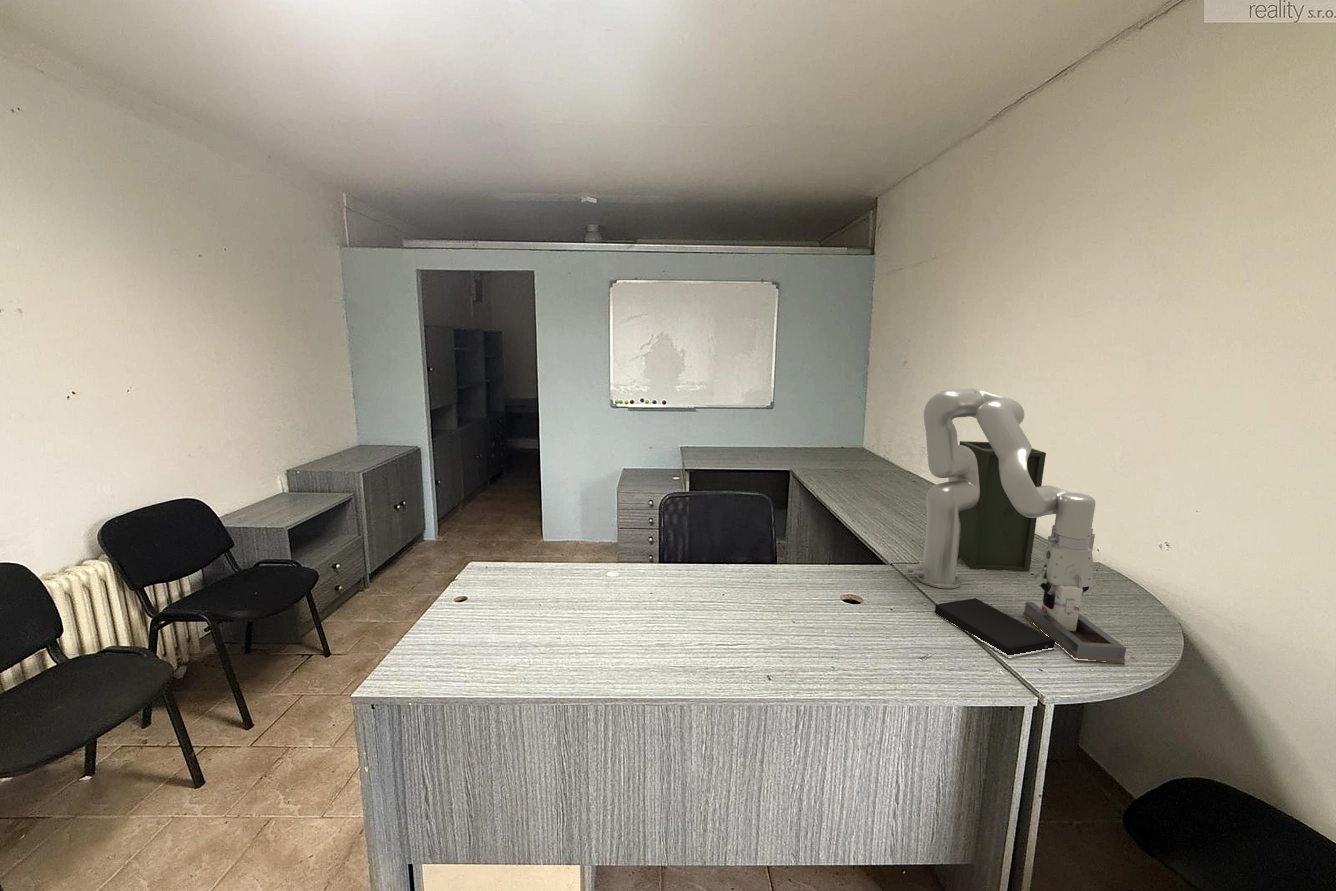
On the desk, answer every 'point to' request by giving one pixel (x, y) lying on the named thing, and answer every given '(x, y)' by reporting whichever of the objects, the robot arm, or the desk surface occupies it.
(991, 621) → the external hard drive
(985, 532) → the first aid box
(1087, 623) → the frame
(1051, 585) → the robot arm
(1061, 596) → the ink cartridge box
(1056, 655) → the desk surface
